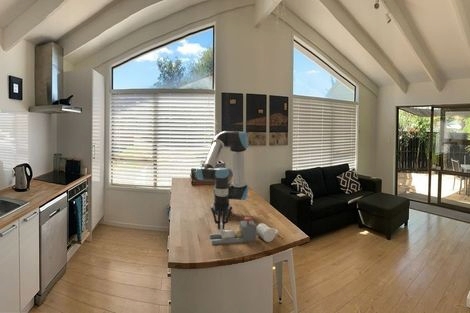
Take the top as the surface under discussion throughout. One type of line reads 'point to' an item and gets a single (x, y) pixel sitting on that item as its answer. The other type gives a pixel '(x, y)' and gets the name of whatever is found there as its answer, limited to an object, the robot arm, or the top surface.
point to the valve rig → (239, 233)
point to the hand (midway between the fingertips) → (220, 234)
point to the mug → (266, 232)
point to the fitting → (228, 234)
